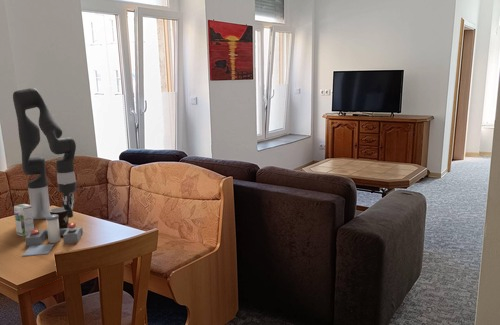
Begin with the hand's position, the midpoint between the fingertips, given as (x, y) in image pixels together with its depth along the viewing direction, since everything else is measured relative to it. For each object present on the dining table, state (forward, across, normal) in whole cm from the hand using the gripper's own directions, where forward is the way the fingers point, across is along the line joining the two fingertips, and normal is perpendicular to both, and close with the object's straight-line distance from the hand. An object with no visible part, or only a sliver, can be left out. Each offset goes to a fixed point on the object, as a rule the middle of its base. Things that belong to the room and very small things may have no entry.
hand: (70, 217), depth 182 cm
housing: (+11, -2, -8) cm, 14 cm away
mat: (+11, +10, -12) cm, 19 cm away
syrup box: (+11, -12, -24) cm, 29 cm away
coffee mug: (+11, -15, -10) cm, 21 cm away
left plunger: (+9, 0, -16) cm, 18 cm away
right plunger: (+7, 0, 0) cm, 7 cm away
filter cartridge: (+11, 0, -8) cm, 14 cm away
